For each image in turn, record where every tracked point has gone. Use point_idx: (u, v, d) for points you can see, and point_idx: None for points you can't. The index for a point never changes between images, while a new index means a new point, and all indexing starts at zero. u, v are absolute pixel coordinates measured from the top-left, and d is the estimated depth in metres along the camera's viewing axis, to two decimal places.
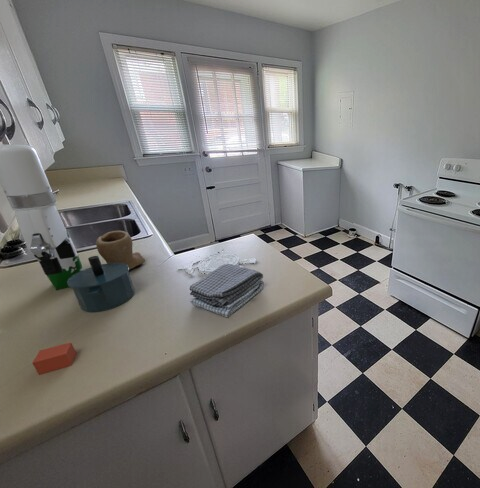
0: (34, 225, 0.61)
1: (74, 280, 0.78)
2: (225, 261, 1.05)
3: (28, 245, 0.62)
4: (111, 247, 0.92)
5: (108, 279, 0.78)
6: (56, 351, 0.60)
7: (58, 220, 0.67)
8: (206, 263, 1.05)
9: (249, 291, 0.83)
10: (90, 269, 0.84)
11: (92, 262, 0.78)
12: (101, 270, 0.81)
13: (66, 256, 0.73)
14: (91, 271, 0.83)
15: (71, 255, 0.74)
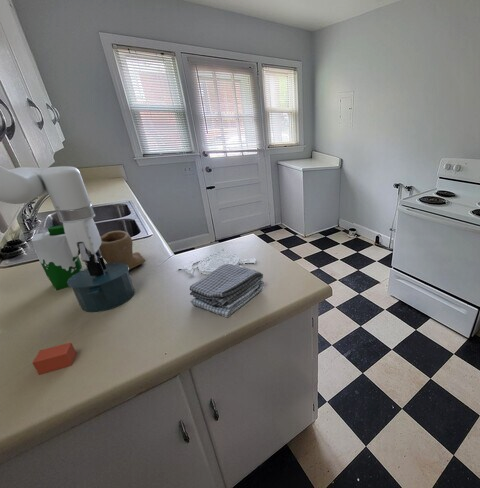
0: (78, 235, 0.72)
1: (74, 280, 0.78)
2: (225, 261, 1.05)
3: (73, 252, 0.72)
4: (111, 247, 0.92)
5: (108, 279, 0.78)
6: (56, 351, 0.60)
7: (95, 230, 0.78)
8: (206, 263, 1.05)
9: (249, 291, 0.83)
10: None
11: None
12: None
13: None
14: None
15: (103, 267, 0.82)
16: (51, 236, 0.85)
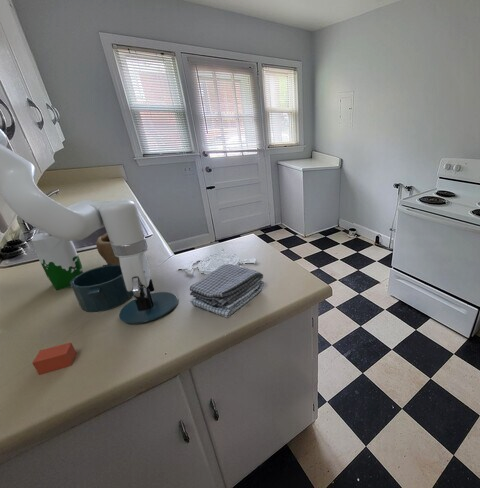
0: (134, 269, 0.70)
1: (126, 314, 0.76)
2: (225, 261, 1.05)
3: (128, 287, 0.71)
4: (111, 247, 0.92)
5: (160, 312, 0.76)
6: (56, 351, 0.60)
7: (147, 261, 0.76)
8: (206, 263, 1.05)
9: (249, 291, 0.83)
10: None
11: None
12: (152, 302, 0.79)
13: None
14: None
15: (152, 289, 0.83)
16: (51, 236, 0.85)
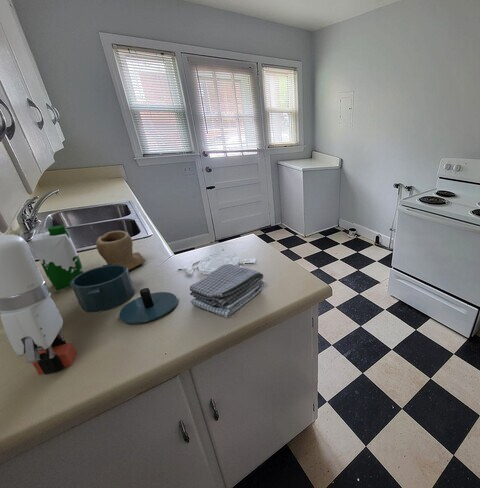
0: (23, 328, 0.52)
1: (126, 314, 0.76)
2: (225, 261, 1.05)
3: (16, 350, 0.53)
4: (111, 247, 0.92)
5: (160, 312, 0.76)
6: (56, 351, 0.60)
7: (52, 311, 0.58)
8: (206, 263, 1.05)
9: (249, 291, 0.83)
10: (138, 300, 0.82)
11: (144, 295, 0.77)
12: (152, 302, 0.79)
13: None
14: (140, 302, 0.81)
15: None
16: (51, 236, 0.85)
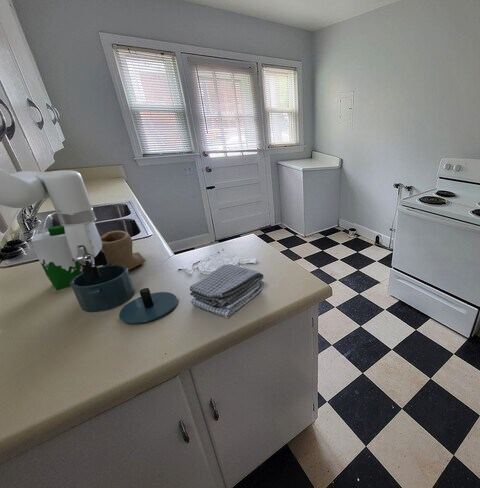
0: (79, 238, 0.72)
1: (126, 314, 0.76)
2: (225, 261, 1.05)
3: (74, 255, 0.73)
4: (111, 247, 0.92)
5: (160, 312, 0.76)
6: None
7: (96, 233, 0.78)
8: (206, 263, 1.05)
9: (249, 292, 0.83)
10: (138, 300, 0.82)
11: (144, 295, 0.77)
12: (152, 302, 0.79)
13: (100, 264, 0.84)
14: (140, 302, 0.81)
15: (105, 263, 0.85)
16: (51, 236, 0.85)
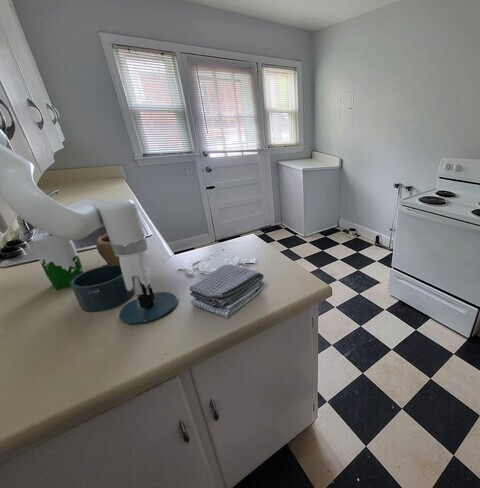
0: (134, 269, 0.70)
1: (126, 314, 0.76)
2: (225, 261, 1.05)
3: (127, 286, 0.70)
4: (111, 247, 0.92)
5: (160, 312, 0.76)
6: None
7: (147, 261, 0.76)
8: (206, 263, 1.05)
9: (249, 292, 0.83)
10: (138, 300, 0.82)
11: None
12: None
13: None
14: None
15: (152, 298, 0.80)
16: (51, 236, 0.85)
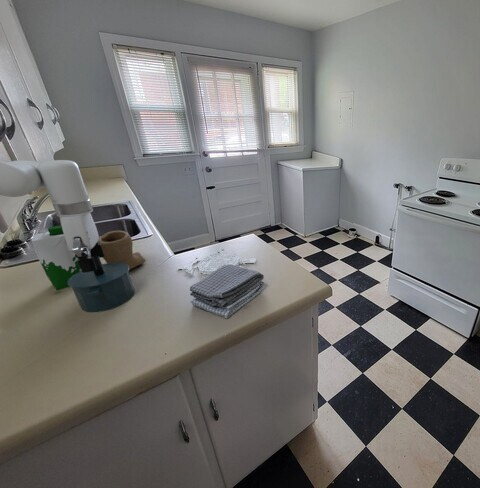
0: (75, 229, 0.71)
1: (75, 280, 0.78)
2: (225, 261, 1.05)
3: (69, 246, 0.72)
4: (111, 247, 0.92)
5: (108, 279, 0.78)
6: None
7: (93, 225, 0.77)
8: (206, 263, 1.05)
9: (249, 292, 0.83)
10: None
11: None
12: (102, 270, 0.81)
13: None
14: (91, 271, 0.83)
15: (101, 255, 0.84)
16: (51, 236, 0.85)
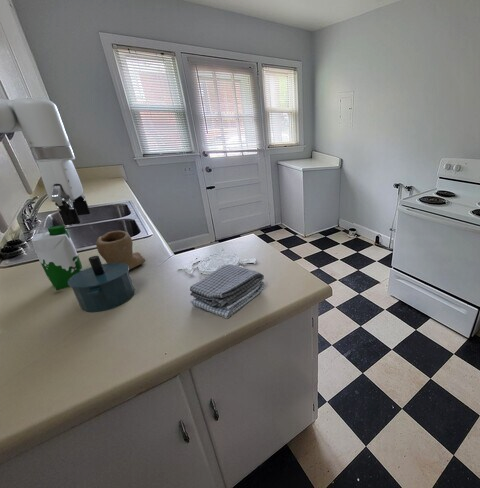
0: (55, 176, 0.66)
1: (75, 280, 0.78)
2: (225, 261, 1.05)
3: (49, 195, 0.66)
4: (111, 247, 0.92)
5: (108, 279, 0.78)
6: None
7: (76, 175, 0.72)
8: (206, 263, 1.05)
9: (249, 292, 0.83)
10: (90, 269, 0.84)
11: (92, 262, 0.78)
12: (102, 270, 0.81)
13: (82, 213, 0.78)
14: (91, 271, 0.83)
15: (87, 212, 0.78)
16: (51, 236, 0.85)
